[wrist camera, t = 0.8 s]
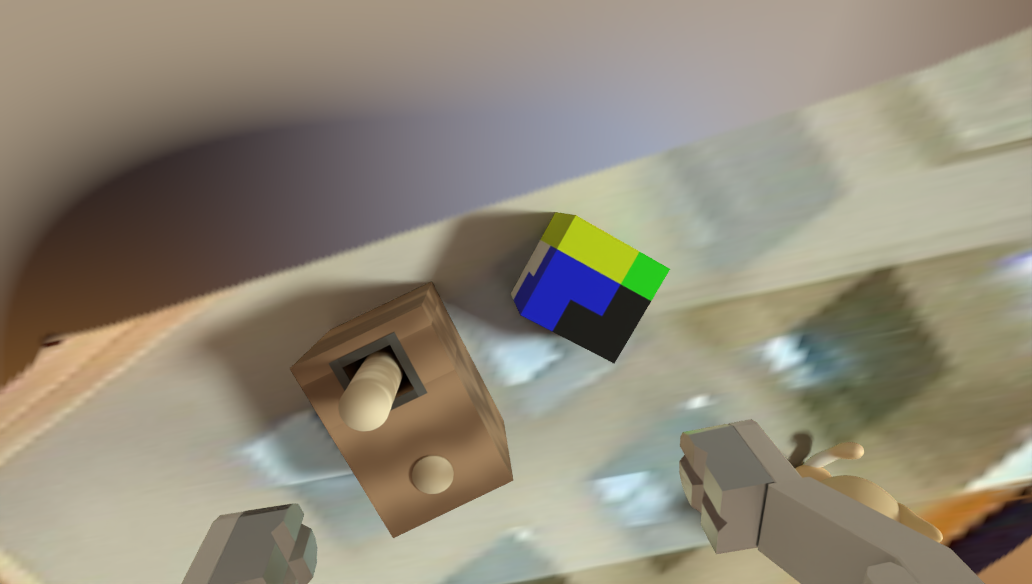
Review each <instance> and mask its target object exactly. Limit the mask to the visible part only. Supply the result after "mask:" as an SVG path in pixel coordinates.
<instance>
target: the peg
mask: <svg viewBox="0 0 1032 584" xmlns="http://www.w3.org/2000/svg"><path fill="white" fill-rule="evenodd" d="M403 374H404V369H403V367H402V366H401V364H400V362H399V360H398V358H397V357H396V355H395V353H394V351H393V349H392V347H391V346H390V345H388V346H386V347H384V348H382V349H380V350H378V351H376V352H374V353H372V354H369V355H368V356H367V357H366V359H365V360H364V362H363V363H362V365H361V367H360V368H359V370H358V371H357V373H356V374H355V376H354V378H353V379H352V381H351V382H350V384H349V385H348V387H347V389H346V390H345V392H344V393H343V395H342V396H341V398H340V401H339V406H338V410H339V414H340V417H341V419H342V420H343V422H344V423H345V424H346V425H347V426H349V427H350V428H352V429H355V430H358V431H371V430H374V429H376V428H378V427H380V426H381V425H382V424H383V423H384V422H385V421H386V419H387V417H388V415H389V412H390V410H391V407H392V404H393V401H394V399H395V396H396V393H397V390H398V388H399V385H400V382H401V379H402V377H403Z"/></svg>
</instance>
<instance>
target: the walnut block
mask: <svg viewBox="0 0 1032 584" xmlns="http://www.w3.org/2000/svg"><path fill="white" fill-rule="evenodd" d="M388 345H390V346H391V347H392V349H393V351H394V353H395V355H396V357H397V358H398V360H399V362H400V364H401V366H402V367H403V369H404V374H403V377H402V379H401V382H400V385H399V388H398V390H397V393H396V396H395V399H394V401H393V404H392V407H391V410H390V412H389V415H388V417H387V419H386V421H385V422H384V423H383V424H382V425H381V426H380V427H378V428H376V429H374V430H371V431H358V430H355V429H352V428H350V427H349V426H347V425H346V424H345V423H344V422H343V420H342V419H341V417H340V414H339V410H338V406H339V401H340V398H341V396H342V395H343V393H344V392H345V390H346V389H347V387H348V385H349V384H350V382H351V381H352V379H353V378H354V376H355V374H356V373H357V371H358V370H359V368H360V367H361V365H362V363H363V362H364V360H365V359H366V357H367V356H368V355H369V354H372V353H374V352H376V351H378V350H380V349H382V348H384V347H386V346H388ZM290 370H291V372H292V373H293V375H294V376H295V378H296V380H297V381H298V383H299V385H300V386H301V388H302V390H303V391H304V393H305V394H306V396H307V398H308V399H309V401H310V403H311V404H312V406H313V408H314V409H315V411H316V412H317V414H318V416H319V417H320V419H321V421H322V422H323V424H324V426H325V427H326V429H327V430H328V432H329V434H330V435H331V437H332V439H333V440H334V442H335V444H336V445H337V447H338V449H339V450H340V452H341V453H342V455H343V457H344V458H345V460H346V462H347V463H348V465H349V467H350V468H351V470H352V471H353V473H354V475H355V476H356V478H357V480H358V481H359V483H360V485H361V486H362V488H363V489H364V491H365V493H366V494H367V496H368V498H369V499H370V501H371V503H372V504H373V506H374V507H375V509H376V511H377V512H378V514H379V516H380V517H381V519H382V521H383V522H384V524H385V526H386V527H387V529H388V530H389V532H390V534H391V535H392V537H393V538H395V537H397V536H399V535H401V534H403V533H405V532H407V531H409V530H411V529H413V528H415V527H418V526H420V525H422V524H424V523H426V522H428V521H430V520H432V519H434V518H436V517H438V516H440V515H442V514H445V513H447V512H449V511H451V510H453V509H455V508H457V507H459V506H461V505H463V504H465V503H467V502H469V501H472V500H474V499H476V498H478V497H480V496H482V495H484V494H486V493H488V492H490V491H492V490H494V489H496V488H499V487H501V486H503V485H505V484H507V483H509V482H511V481H513V475H512V469H511V463H510V457H509V451H508V445H507V438H506V432H505V426H504V421H503V419H502V417H501V415H500V413H499V411H498V409H497V407H496V405H495V403H494V401H493V399H492V397H491V396H490V394H489V392H488V390H487V388H486V386H485V384H484V382H483V380H482V378H481V376H480V374H479V372H478V370H477V368H476V366H475V364H474V362H473V361H472V359H471V357H470V355H469V353H468V351H467V349H466V347H465V345H464V343H463V341H462V339H461V337H460V335H459V333H458V331H457V329H456V328H455V326H454V324H453V322H452V320H451V318H450V316H449V314H448V312H447V310H446V308H445V306H444V304H443V302H442V300H441V298H440V296H439V295H438V293H437V291H436V289H435V287H434V285H433V283H432V282H430V283H428V284H426V285H424V286H421V287H419V288H417V289H415V290H413V291H411V292H409V293H407V294H405V295H403V296H400V297H398V298H396V299H394V300H392V301H390V302H388V303H386V304H384V305H382V306H380V307H377V308H375V309H373V310H371V311H369V312H367V313H365V314H363V315H361V316H359V317H356V318H354V319H352V320H350V321H348V322H346V323H344V324H342V325H340V326H338V327H336V328H333V329H331V330H330V331H329V332H328V333H326V334H325V335H324V336H323V337H322V338H321V339H320V340H319V341H318V342H317V343H316V344H315V345H314V346H313V347H312V348H311V349H310V350H309V351H308V352H307V353H306V354H304V355H303V356H302V357H301V358H300V359H299V360H298V361H297V362H296V363H295V364H294V365H293V366H292V367H291V368H290Z"/></svg>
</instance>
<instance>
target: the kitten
mask: <svg viewBox="0 0 1032 584" xmlns="http://www.w3.org/2000/svg"><path fill="white" fill-rule="evenodd" d="M863 454H864V449H863V447H862V446H861V445H859V444H857V443H853V442H844V443H840V444H838V445H836V446H834V447H832V448H829V449H827V450H824V451H821V452H819V453H817V454H815V455H813V456H812V457H810V458H809V459H808V460H807V461H806V462H805V463H804V464H803V465H802V466H799V467H796V468H795V470H796V471H797V472H798V473H799V475H800V476H801V477H802V478H804V477H811V478H813V479H815V480H817V481H819V482H821V483H823V484H825V485H827V486H829V487H831V488H833V489H835V490H836V491H838V492H840V493H842V494H844V495H846V496H848V497H850V498H852V499H854V500H856V501H858V502H860V503H862V504H864V505H866V506H868V507H870V508H872V509H874V510H876V511H878V512H880V513H881V514H883V515H885V516H887V517H889V518H891V519H893V520H895V521H897V522H899V523H901V524H903V525H905V526H907V527H909V528H911V529H913V530H915V531H917V532H919V533H921V534H923V535H925V536H927V537H928V538H930V539H932V540H934V541H936V542H938V543H939V542H941V541H942V539H943V536H942V534H941V532H940V531H939V530H938V529H937V528H936V527H935V526H933V525H932V524H930V523H928V522H927V521H925V520H924V519H922V518H921V517H919V516H918V515H917V514H915V513H914V512H913V511H912V510H910V509H909V508H908V507H906V506H905V505H903V504H900V503H898V502H897V501H896V500H895V499H894V498H893V497H892V496H891V495H890V494H889V493H887V492H886V491H885V490H884V489H882V488H881V487H880V486H878V485H876V484H875V483H873V482H871V481H869V480H866V479H863V478H860V477H856V476H847V475H844V476H835V477H832V476H831V475H830V473H829V472H828V471H827V470H825V469H824V468H823V466H825V465H827V464H829V463H831V462H833V461H835V460H837V459H858V458H860V457H861V456H862V455H863Z"/></svg>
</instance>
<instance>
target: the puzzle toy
mask: <svg viewBox="0 0 1032 584" xmlns="http://www.w3.org/2000/svg"><path fill="white" fill-rule="evenodd" d="M669 270H670V269H669V268H667V267H666V266H664V265H662V264H660V263H659V262H657V261H655V260H653V259H652V258H650V257H648V256H646V255H645V254H643V253H641V252H639V251H638V250H636V249H634V248H632V247H631V246H629V245H627V244H625V243H624V242H622V241H620V240H618V239H617V238H615V237H613V236H611V235H610V234H608V233H606V232H604V231H603V230H601V229H599V228H597V227H596V226H594V225H592V224H590V223H589V222H587V221H585V220H583V219H581V218H580V217H578V216H576V215H571V214H564V213H558V212H555V214H554V216H553V218H552V219H551V221H550V223H549V225H548V227H547V229H546V230H545V232H544V234H543V236H542V238H541V239H540V241H539V243H538V245H537V247H536V249H535V250H534V252H533V254H532V256H531V258H530V259H529V261H528V263H527V265H526V267H525V268H524V270H523V272H522V274H521V276H520V278H519V279H518V281H517V283H516V285H515V287H514V288H513V290H512V292H511V296H512V298H513V300H514V302H515V304H516V307H517V309H518V311H519V313H520V315H521V316H523V317H525V318H527V319H529V320H531V321H533V322H535V323H537V324H539V325H541V326H543V327H544V328H546V329H548V330H550V331H552V332H554V333H556V334H558V335H560V336H562V337H564V338H566V339H568V340H570V341H572V342H574V343H575V344H577V345H579V346H581V347H583V348H585V349H587V350H589V351H591V352H593V353H595V354H597V355H599V356H601V357H603V358H605V359H606V360H608V361H610V362H612V363H615V361H616V360H617V358H618V356H619V355H620V353H621V351H622V350H623V348H624V346H625V345H626V343H627V341H628V339H629V338H630V336H631V334H632V333H633V331H634V329H635V328H636V326H637V324H638V323H639V321H640V319H641V317H642V316H643V314H644V312H645V311H646V309H647V307H648V306H649V304H650V302H651V301H652V299H653V297H654V296H655V294H656V292H657V290H658V289H659V287H660V285H661V284H662V282H663V280H664V279H665V277H666V275H667V274H668V272H669Z"/></svg>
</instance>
